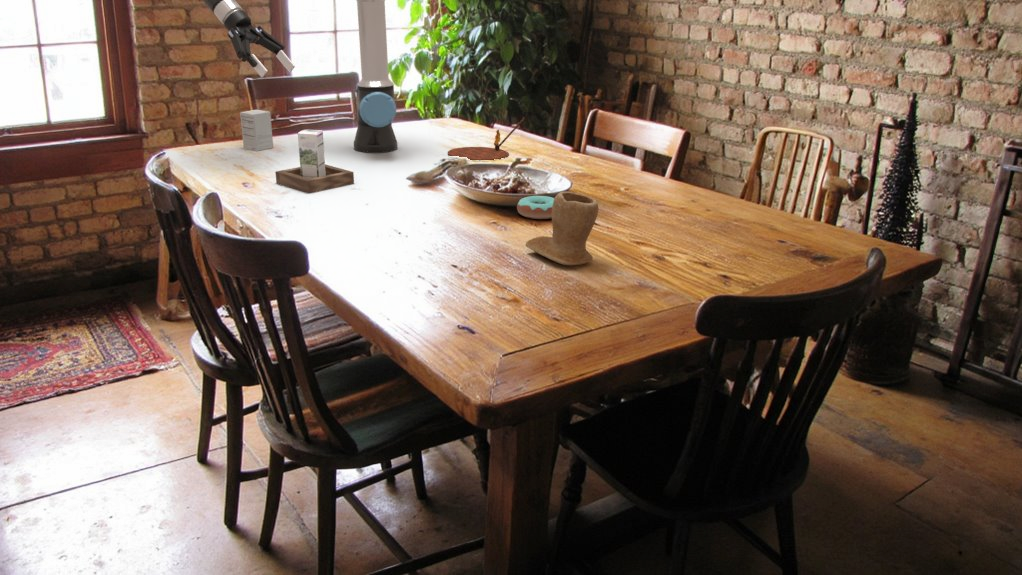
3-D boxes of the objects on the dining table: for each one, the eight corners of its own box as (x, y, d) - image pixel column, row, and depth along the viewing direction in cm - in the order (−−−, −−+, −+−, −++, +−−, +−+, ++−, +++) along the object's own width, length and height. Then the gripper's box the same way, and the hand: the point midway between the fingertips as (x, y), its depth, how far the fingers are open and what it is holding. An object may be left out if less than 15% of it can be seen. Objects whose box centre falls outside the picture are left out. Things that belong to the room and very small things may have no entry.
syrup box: (326, 178, 250) (323, 129, 245) (319, 183, 244) (316, 133, 239) (308, 177, 251) (304, 128, 245) (300, 182, 245) (296, 132, 240)
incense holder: (436, 153, 292) (435, 120, 288) (506, 144, 308) (507, 113, 304) (469, 164, 276) (469, 130, 272) (541, 154, 292) (542, 122, 288)
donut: (509, 217, 219) (509, 202, 218) (526, 206, 230) (526, 192, 228) (553, 223, 215) (553, 208, 214) (567, 211, 226) (568, 197, 224)
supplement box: (260, 145, 297) (256, 109, 292) (274, 148, 293) (270, 111, 288) (242, 148, 291) (239, 111, 287) (256, 151, 287) (253, 114, 283)
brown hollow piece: (606, 263, 187) (610, 197, 181) (562, 272, 181) (565, 205, 175) (565, 244, 199) (568, 182, 193) (523, 252, 193) (525, 188, 187)
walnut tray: (321, 174, 259) (320, 163, 257) (354, 183, 249) (353, 171, 247) (276, 183, 248) (275, 171, 246) (308, 193, 238) (307, 181, 236)
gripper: (253, 23, 267) (296, 75, 267) (198, 28, 245) (245, 85, 245) (265, 6, 263) (309, 59, 263) (211, 10, 241) (258, 67, 242)
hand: (278, 71), depth 254 cm, fingers open, 13 cm apart
